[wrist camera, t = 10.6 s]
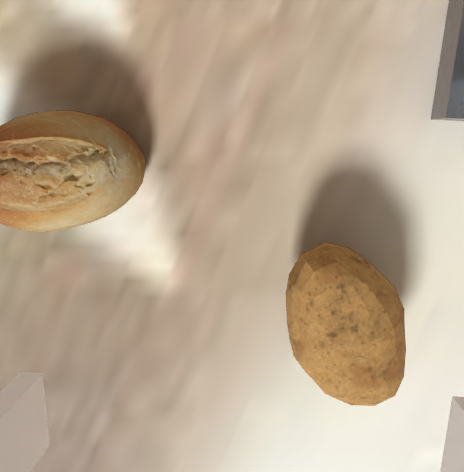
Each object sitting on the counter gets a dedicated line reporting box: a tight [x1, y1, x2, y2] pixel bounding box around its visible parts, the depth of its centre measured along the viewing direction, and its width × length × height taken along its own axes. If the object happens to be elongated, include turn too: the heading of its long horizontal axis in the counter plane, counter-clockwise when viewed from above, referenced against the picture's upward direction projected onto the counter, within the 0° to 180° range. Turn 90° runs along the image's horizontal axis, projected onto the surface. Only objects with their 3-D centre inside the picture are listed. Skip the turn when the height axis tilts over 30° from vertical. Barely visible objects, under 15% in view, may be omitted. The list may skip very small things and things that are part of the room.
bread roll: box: [0, 111, 145, 231], centre depth 35 cm, size 10×15×8 cm, turn 104°
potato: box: [286, 243, 406, 406], centre depth 35 cm, size 10×14×8 cm
